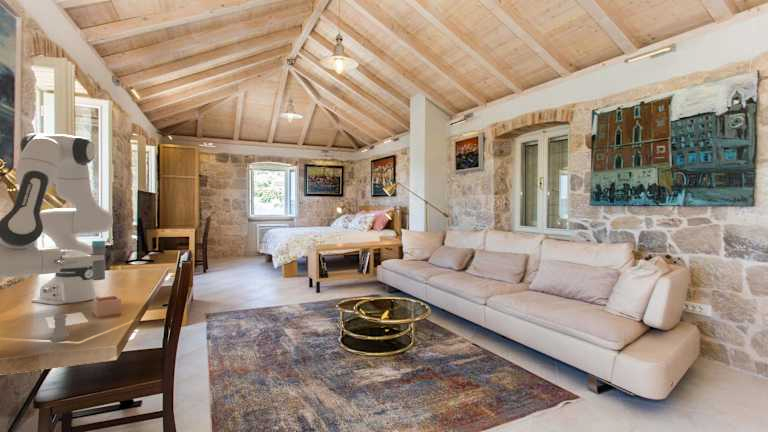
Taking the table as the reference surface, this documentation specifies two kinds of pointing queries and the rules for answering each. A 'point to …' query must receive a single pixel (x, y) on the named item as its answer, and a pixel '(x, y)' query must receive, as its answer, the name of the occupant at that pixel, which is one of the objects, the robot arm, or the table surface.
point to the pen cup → (106, 306)
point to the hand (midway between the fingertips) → (101, 256)
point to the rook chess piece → (59, 328)
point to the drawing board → (68, 319)
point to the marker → (100, 264)
